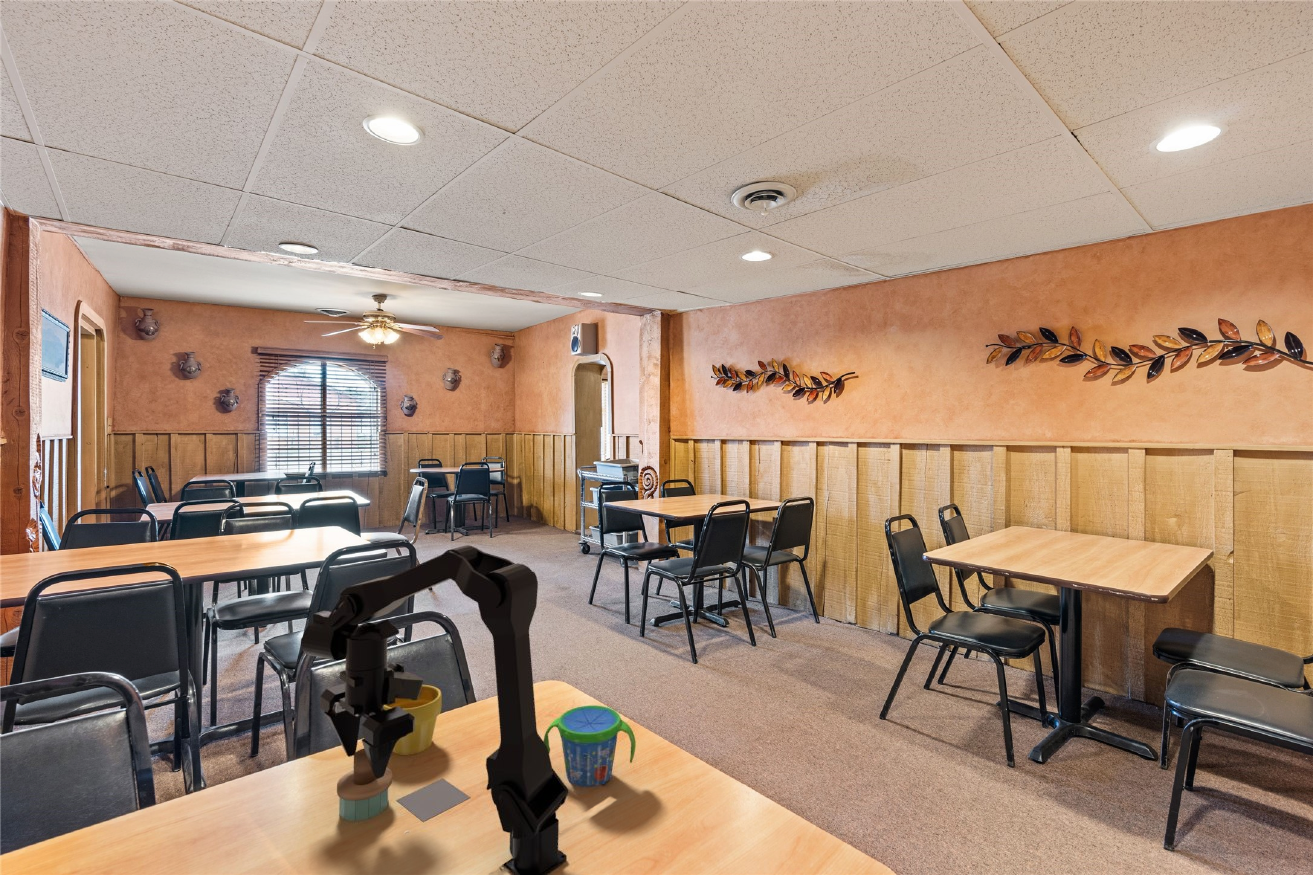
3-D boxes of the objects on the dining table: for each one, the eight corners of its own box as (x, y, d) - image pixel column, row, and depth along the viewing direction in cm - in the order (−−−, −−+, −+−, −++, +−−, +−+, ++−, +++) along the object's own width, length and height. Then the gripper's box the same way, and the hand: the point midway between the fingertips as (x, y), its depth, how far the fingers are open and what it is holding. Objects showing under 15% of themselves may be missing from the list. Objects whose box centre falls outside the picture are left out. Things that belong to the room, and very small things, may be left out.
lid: (401, 784, 94) (401, 752, 93) (350, 807, 88) (351, 772, 88) (377, 766, 98) (378, 735, 98) (328, 786, 93) (328, 754, 92)
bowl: (395, 810, 93) (396, 784, 93) (351, 831, 88) (352, 804, 88) (375, 793, 98) (375, 768, 98) (332, 813, 93) (332, 786, 93)
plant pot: (373, 767, 105) (373, 710, 105) (387, 737, 116) (388, 686, 115) (436, 761, 107) (437, 706, 107) (444, 733, 118) (445, 682, 117)
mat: (470, 802, 96) (470, 797, 96) (423, 827, 90) (423, 821, 90) (442, 783, 101) (442, 778, 101) (396, 805, 95) (396, 800, 95)
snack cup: (532, 789, 100) (533, 727, 100) (556, 756, 110) (557, 700, 110) (625, 803, 96) (626, 739, 96) (641, 768, 107) (642, 710, 107)
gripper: (448, 664, 93) (446, 766, 93) (388, 637, 105) (386, 727, 105) (375, 687, 85) (374, 799, 85) (319, 654, 96) (318, 752, 97)
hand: (365, 766), depth 93 cm, fingers open, 9 cm apart
